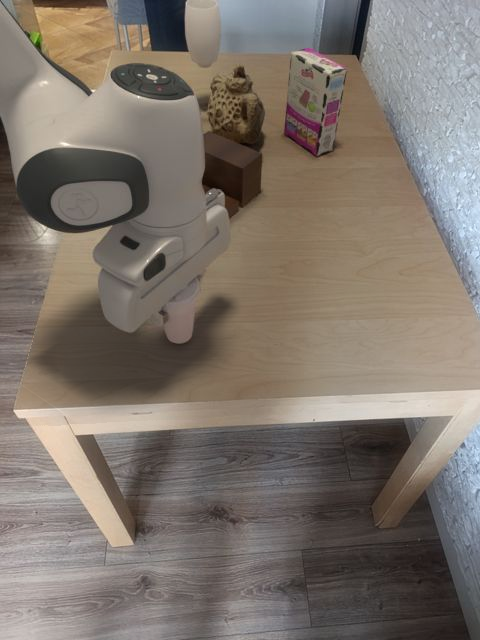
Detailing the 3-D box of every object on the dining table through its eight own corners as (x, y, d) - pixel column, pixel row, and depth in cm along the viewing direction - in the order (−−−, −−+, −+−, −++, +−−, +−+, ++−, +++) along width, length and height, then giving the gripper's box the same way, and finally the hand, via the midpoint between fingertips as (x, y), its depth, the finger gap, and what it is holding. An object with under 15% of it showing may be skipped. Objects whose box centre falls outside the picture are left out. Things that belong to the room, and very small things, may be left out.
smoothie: (210, 329, 72) (208, 255, 61) (183, 358, 69) (175, 285, 58) (175, 310, 74) (167, 234, 63) (147, 337, 71) (133, 263, 60)
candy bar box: (334, 150, 105) (349, 67, 92) (316, 157, 103) (329, 74, 90) (300, 127, 110) (309, 45, 97) (282, 133, 108) (289, 51, 95)
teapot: (195, 120, 110) (190, 45, 98) (244, 112, 113) (245, 38, 101) (230, 173, 98) (229, 95, 86) (283, 162, 101) (290, 86, 89)
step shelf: (143, 217, 88) (137, 178, 82) (210, 169, 98) (208, 130, 92) (197, 245, 85) (194, 205, 78) (260, 192, 95) (262, 153, 88)
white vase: (203, 121, 109) (197, 13, 93) (183, 108, 113) (175, 0, 96) (229, 111, 113) (228, 5, 96) (209, 98, 116) (205, -7, 99)
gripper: (202, 172, 63) (205, 256, 74) (79, 260, 52) (104, 343, 63) (243, 191, 61) (240, 274, 72) (125, 286, 50) (142, 368, 61)
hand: (176, 307), depth 67 cm, fingers closed on smoothie, 5 cm apart
